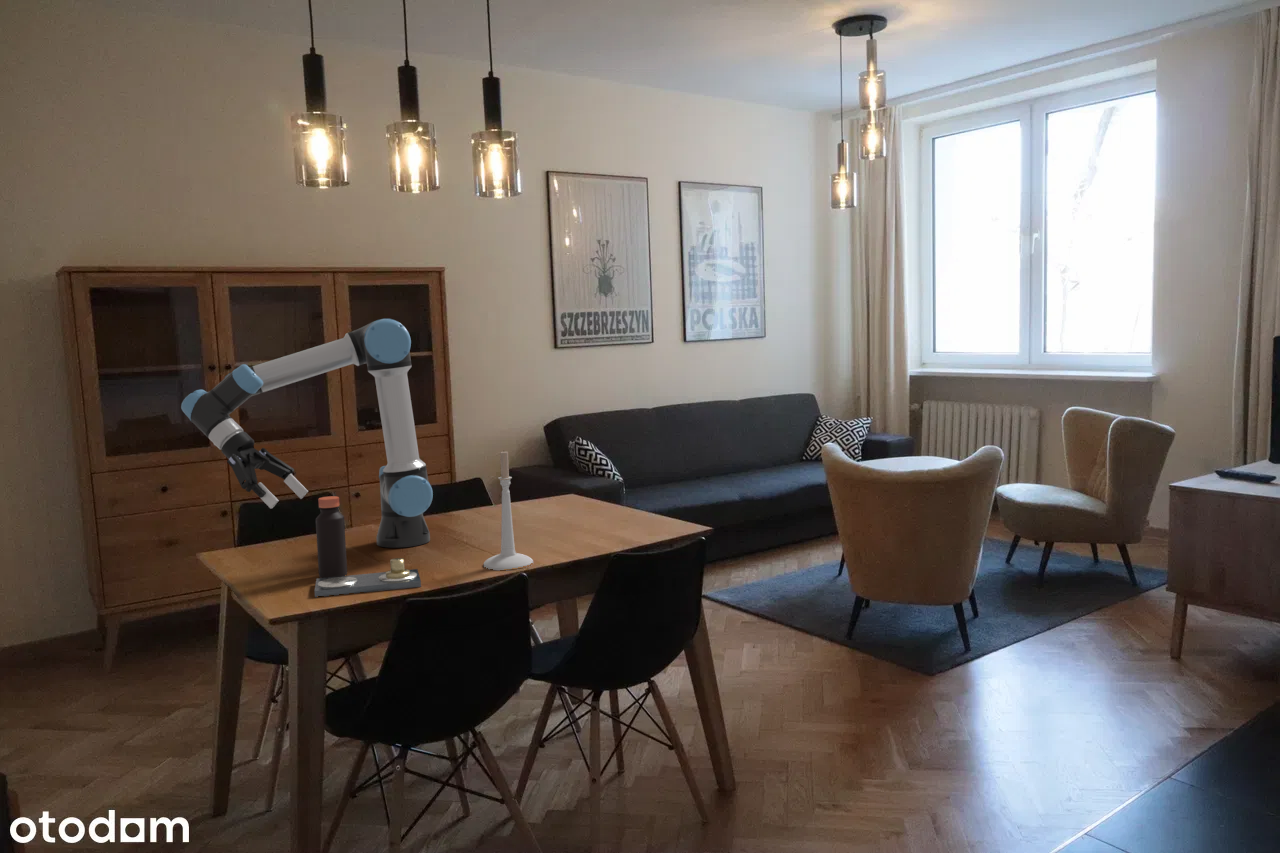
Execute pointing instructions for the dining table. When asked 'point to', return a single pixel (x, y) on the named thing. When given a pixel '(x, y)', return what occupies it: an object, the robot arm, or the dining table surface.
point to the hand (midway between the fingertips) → (290, 499)
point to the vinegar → (331, 539)
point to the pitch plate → (370, 581)
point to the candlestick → (506, 528)
